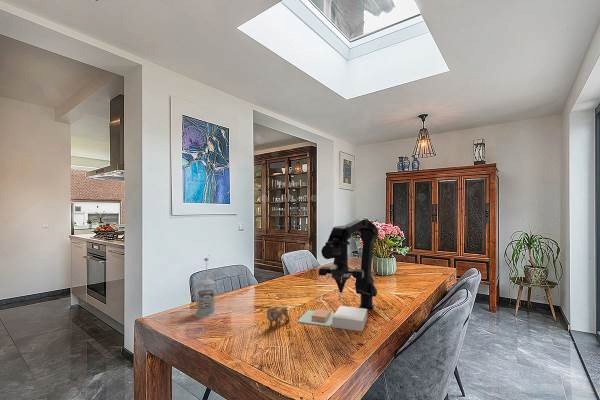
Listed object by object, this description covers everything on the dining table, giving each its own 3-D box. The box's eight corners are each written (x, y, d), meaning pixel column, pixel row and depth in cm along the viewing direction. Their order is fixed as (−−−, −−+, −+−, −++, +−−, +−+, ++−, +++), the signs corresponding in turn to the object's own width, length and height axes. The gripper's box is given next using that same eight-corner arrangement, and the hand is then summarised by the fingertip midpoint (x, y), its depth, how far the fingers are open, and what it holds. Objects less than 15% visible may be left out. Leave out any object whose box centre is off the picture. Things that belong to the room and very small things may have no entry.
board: (339, 314, 135) (339, 305, 136) (367, 318, 132) (367, 308, 132) (332, 327, 121) (332, 317, 121) (362, 331, 117) (362, 321, 117)
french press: (210, 318, 130) (211, 260, 131) (185, 316, 132) (186, 259, 133) (220, 310, 140) (221, 256, 140) (197, 309, 142) (198, 255, 143)
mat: (308, 310, 140) (308, 310, 140) (337, 314, 136) (337, 313, 136) (297, 322, 126) (297, 321, 126) (329, 326, 122) (329, 325, 122)
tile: (330, 310, 134) (330, 315, 134) (317, 308, 136) (317, 313, 136) (325, 317, 125) (325, 322, 125) (311, 315, 127) (311, 320, 127)
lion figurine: (275, 333, 115) (275, 309, 116) (263, 330, 118) (263, 307, 118) (292, 320, 129) (292, 298, 129) (281, 318, 131) (281, 297, 131)
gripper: (314, 257, 125) (314, 295, 125) (359, 260, 119) (359, 300, 119) (322, 253, 136) (322, 288, 136) (364, 256, 129) (364, 292, 129)
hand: (341, 292), depth 129 cm, fingers closed
